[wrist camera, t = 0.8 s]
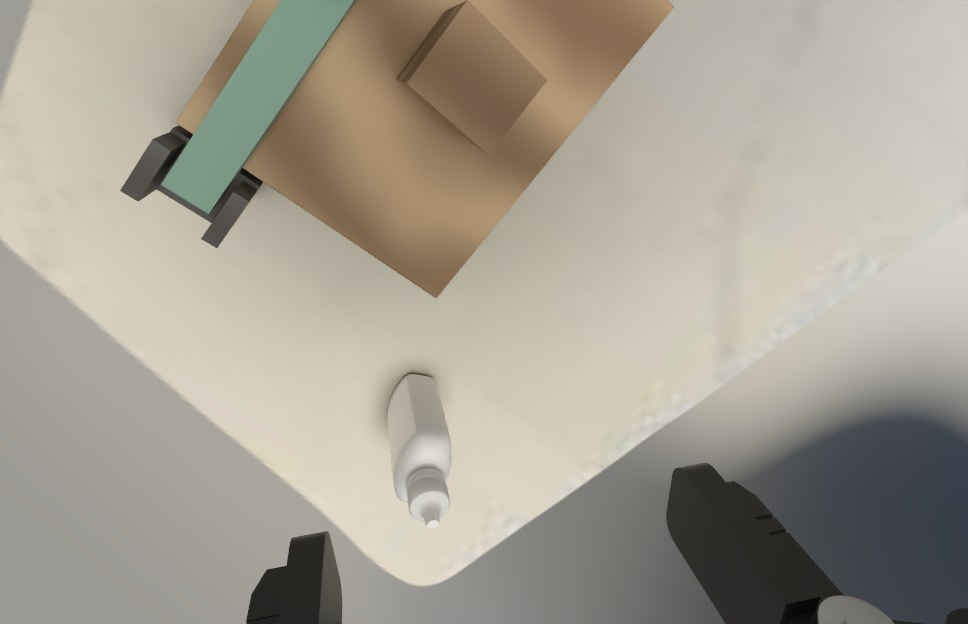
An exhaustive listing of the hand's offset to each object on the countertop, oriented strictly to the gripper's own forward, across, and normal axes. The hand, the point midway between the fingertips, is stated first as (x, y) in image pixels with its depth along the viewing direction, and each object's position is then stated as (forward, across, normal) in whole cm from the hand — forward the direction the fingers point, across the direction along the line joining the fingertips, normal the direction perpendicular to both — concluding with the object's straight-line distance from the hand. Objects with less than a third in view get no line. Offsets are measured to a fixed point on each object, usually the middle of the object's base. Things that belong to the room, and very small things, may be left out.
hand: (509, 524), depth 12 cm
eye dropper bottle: (+26, +2, +14) cm, 29 cm away
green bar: (+17, +6, -9) cm, 20 cm away
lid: (+19, -1, -9) cm, 21 cm away
